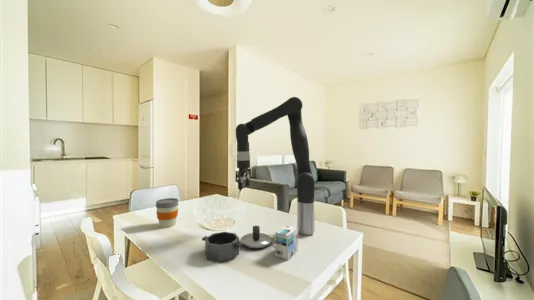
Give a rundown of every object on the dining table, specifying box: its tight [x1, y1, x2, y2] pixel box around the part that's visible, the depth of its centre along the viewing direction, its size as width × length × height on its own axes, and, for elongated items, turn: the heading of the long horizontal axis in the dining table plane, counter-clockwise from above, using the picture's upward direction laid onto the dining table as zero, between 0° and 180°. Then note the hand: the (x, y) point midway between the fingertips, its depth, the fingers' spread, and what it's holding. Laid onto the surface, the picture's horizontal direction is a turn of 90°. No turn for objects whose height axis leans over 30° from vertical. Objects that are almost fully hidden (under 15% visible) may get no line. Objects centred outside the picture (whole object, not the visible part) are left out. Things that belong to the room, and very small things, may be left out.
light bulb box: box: [274, 225, 299, 261], centre depth 101 cm, size 11×7×11 cm, turn 148°
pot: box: [201, 231, 243, 264], centre depth 100 cm, size 20×14×7 cm
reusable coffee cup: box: [155, 197, 179, 229], centre depth 135 cm, size 13×13×15 cm
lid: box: [240, 225, 272, 249], centre depth 111 cm, size 15×15×8 cm
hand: (243, 187), depth 127 cm, fingers open, 8 cm apart
